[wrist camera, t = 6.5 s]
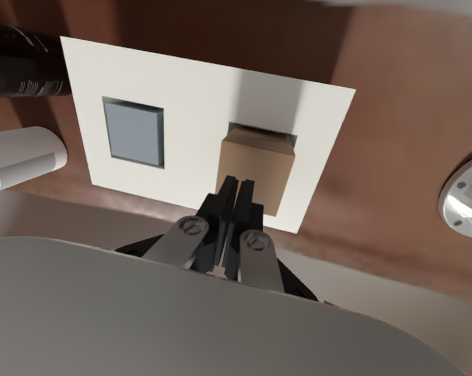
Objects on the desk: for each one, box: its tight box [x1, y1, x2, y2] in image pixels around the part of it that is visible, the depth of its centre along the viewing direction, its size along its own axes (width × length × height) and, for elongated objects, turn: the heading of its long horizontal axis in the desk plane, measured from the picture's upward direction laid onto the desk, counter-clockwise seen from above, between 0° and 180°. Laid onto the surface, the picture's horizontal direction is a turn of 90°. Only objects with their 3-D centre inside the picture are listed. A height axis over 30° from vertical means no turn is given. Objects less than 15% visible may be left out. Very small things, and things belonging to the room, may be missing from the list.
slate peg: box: [105, 101, 164, 165], centre depth 21 cm, size 5×5×6 cm
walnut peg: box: [215, 125, 296, 217], centre depth 17 cm, size 5×5×6 cm
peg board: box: [60, 36, 356, 233], centre depth 22 cm, size 24×14×8 cm, turn 82°
